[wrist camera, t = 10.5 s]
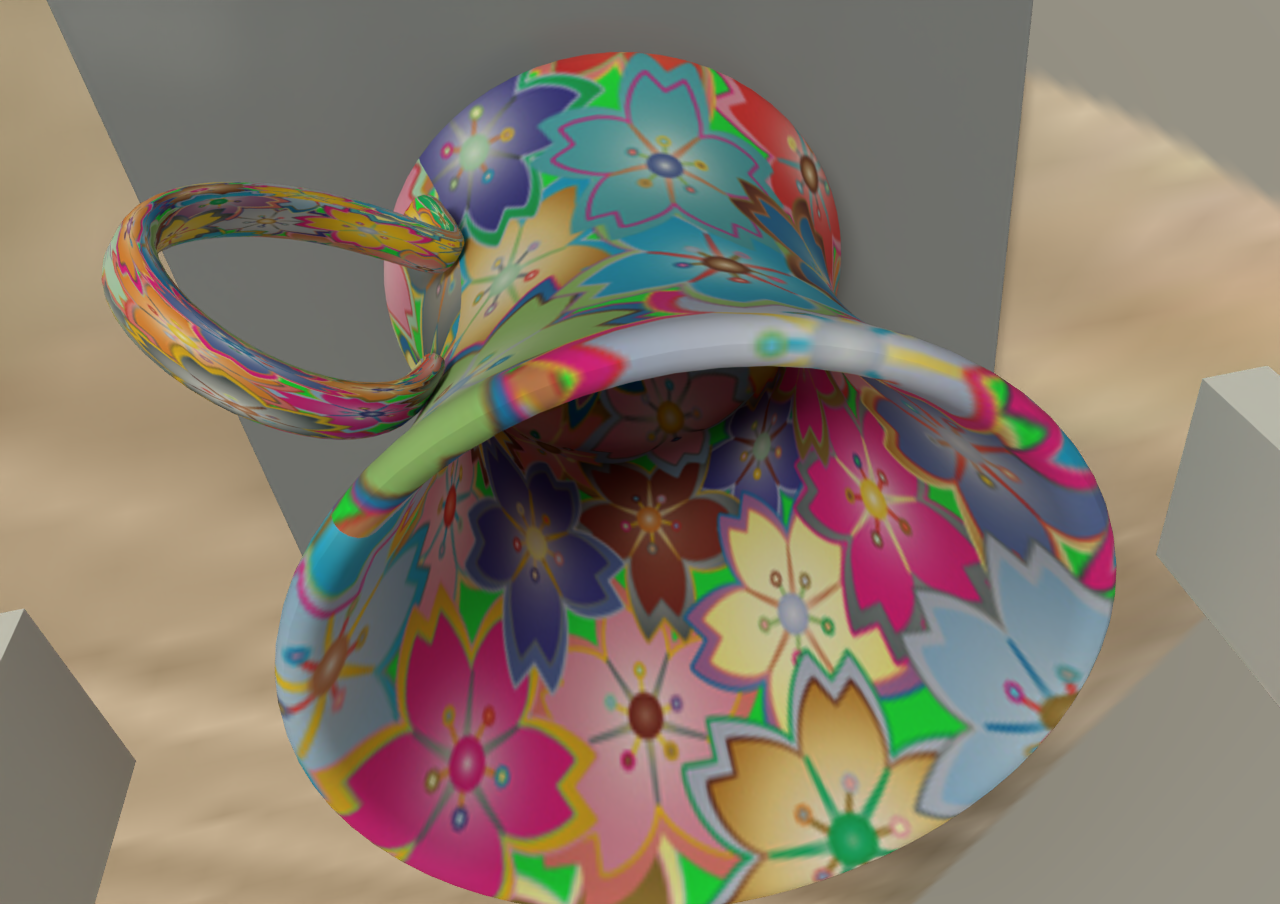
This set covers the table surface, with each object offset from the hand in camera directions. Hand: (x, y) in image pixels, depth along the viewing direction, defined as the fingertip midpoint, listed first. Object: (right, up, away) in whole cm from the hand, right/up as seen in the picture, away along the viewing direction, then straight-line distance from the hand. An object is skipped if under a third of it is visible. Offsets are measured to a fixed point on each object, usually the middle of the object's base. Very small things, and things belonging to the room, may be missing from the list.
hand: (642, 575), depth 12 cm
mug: (-2, +6, +8) cm, 10 cm away
